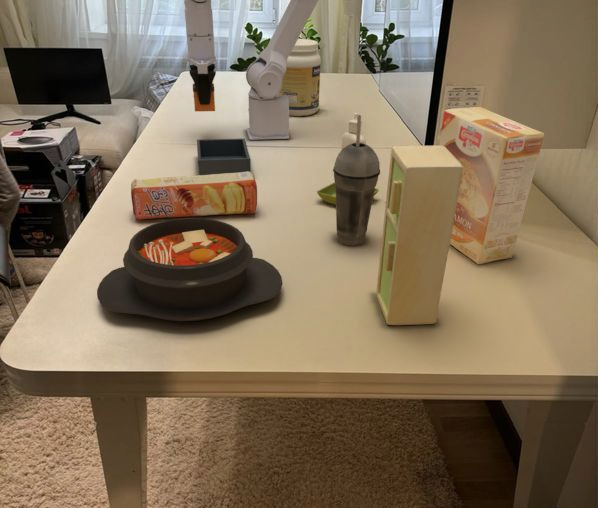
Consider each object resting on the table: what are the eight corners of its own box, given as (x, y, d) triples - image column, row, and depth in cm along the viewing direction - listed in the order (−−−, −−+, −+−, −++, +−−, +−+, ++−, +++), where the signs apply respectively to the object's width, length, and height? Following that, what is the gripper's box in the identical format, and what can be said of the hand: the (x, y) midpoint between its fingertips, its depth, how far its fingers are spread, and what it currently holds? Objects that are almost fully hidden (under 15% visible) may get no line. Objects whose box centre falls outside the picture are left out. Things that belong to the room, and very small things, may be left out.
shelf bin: (245, 156, 130) (244, 138, 128) (250, 178, 120) (250, 158, 117) (198, 158, 129) (196, 139, 127) (199, 180, 118) (197, 160, 116)
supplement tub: (319, 117, 157) (322, 46, 147) (273, 116, 157) (272, 44, 147) (318, 105, 167) (321, 38, 157) (275, 104, 166) (275, 36, 156)
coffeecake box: (423, 226, 103) (442, 108, 91) (458, 220, 105) (480, 105, 94) (477, 265, 92) (506, 137, 80) (513, 258, 94) (547, 132, 83)
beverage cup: (377, 234, 100) (391, 109, 88) (367, 252, 95) (380, 122, 83) (335, 227, 102) (343, 104, 90) (323, 244, 96) (330, 116, 85)
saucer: (340, 188, 116) (340, 178, 115) (379, 199, 112) (380, 188, 111) (315, 202, 111) (315, 191, 109) (355, 214, 107) (356, 203, 105)
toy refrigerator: (369, 294, 84) (386, 144, 72) (420, 293, 85) (445, 144, 72) (380, 326, 78) (400, 167, 65) (435, 325, 78) (466, 167, 66)
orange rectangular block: (215, 106, 138) (213, 83, 135) (215, 111, 134) (214, 87, 131) (194, 106, 137) (192, 83, 134) (194, 111, 134) (192, 87, 131)
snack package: (134, 224, 101) (128, 185, 97) (135, 208, 106) (130, 171, 102) (258, 217, 104) (257, 180, 100) (254, 203, 110) (253, 166, 106)
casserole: (94, 342, 73) (81, 282, 68) (104, 270, 88) (93, 216, 83) (293, 324, 78) (294, 267, 73) (271, 258, 92) (270, 206, 87)
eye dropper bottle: (360, 169, 126) (365, 109, 118) (363, 178, 121) (369, 117, 114) (339, 169, 125) (343, 109, 118) (342, 178, 121) (346, 117, 114)
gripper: (181, 28, 132) (186, 93, 140) (180, 40, 120) (186, 110, 128) (213, 29, 133) (217, 93, 141) (215, 40, 121) (219, 109, 129)
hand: (204, 101), depth 135 cm, fingers closed on orange rectangular block, 4 cm apart
